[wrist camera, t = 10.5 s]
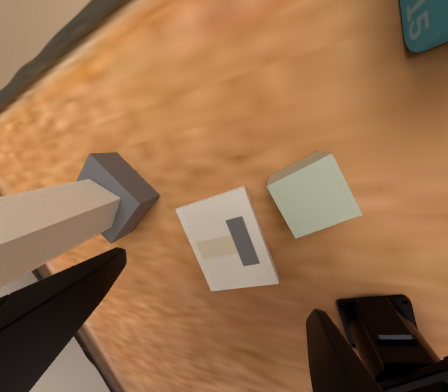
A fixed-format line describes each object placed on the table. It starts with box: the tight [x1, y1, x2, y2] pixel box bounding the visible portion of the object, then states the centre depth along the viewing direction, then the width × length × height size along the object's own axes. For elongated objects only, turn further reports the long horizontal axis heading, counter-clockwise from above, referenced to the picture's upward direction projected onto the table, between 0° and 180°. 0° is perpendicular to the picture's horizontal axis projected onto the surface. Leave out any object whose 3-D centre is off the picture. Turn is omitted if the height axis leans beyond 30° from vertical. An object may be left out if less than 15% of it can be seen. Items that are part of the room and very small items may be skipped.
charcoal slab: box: [77, 153, 160, 244], centre depth 23 cm, size 8×8×4 cm
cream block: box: [0, 179, 121, 288], centre depth 15 cm, size 4×4×12 cm
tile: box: [175, 185, 279, 291], centre depth 21 cm, size 12×9×1 cm
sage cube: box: [266, 152, 363, 239], centre depth 16 cm, size 5×5×5 cm
